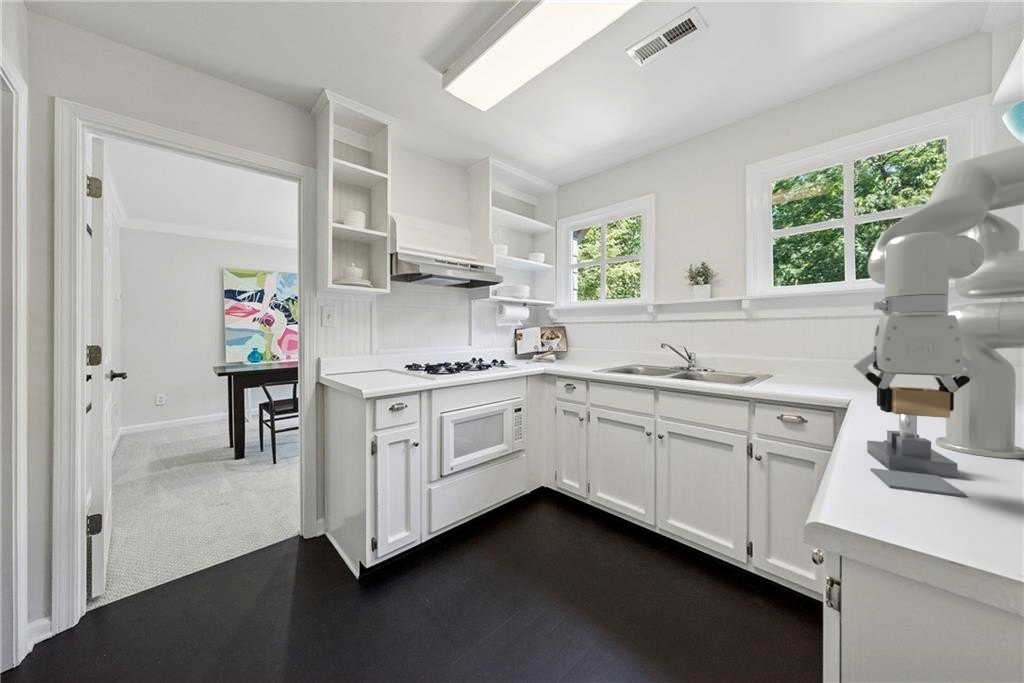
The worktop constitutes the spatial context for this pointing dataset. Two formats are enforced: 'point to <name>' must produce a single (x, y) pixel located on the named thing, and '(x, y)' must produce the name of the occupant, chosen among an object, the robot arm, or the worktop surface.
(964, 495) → the mat
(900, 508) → the worktop surface
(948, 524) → the worktop surface
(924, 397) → the collar
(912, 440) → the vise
